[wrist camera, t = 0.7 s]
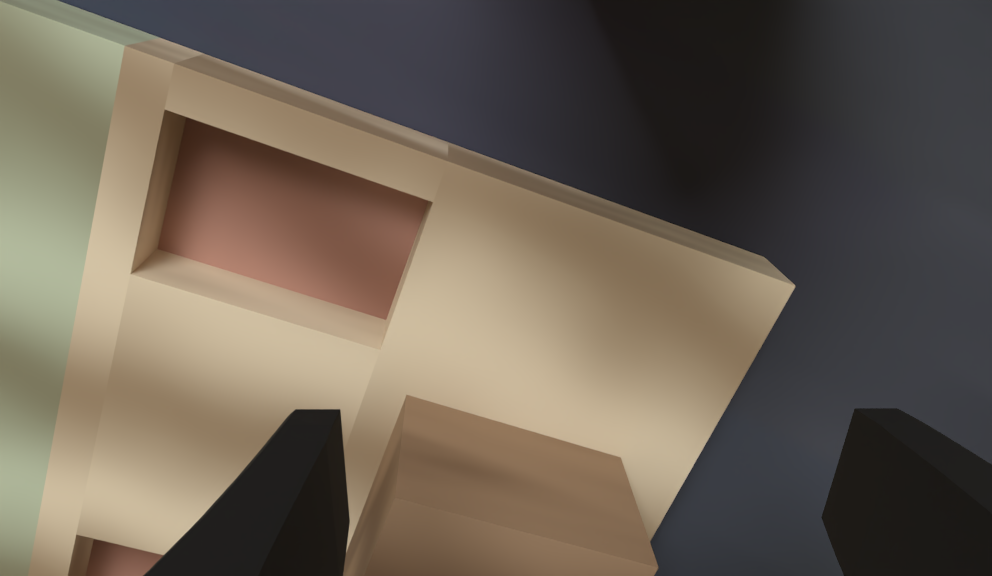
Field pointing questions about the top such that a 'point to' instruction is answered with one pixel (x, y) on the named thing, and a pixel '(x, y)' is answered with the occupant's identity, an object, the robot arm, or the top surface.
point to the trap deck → (307, 294)
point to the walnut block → (494, 504)
